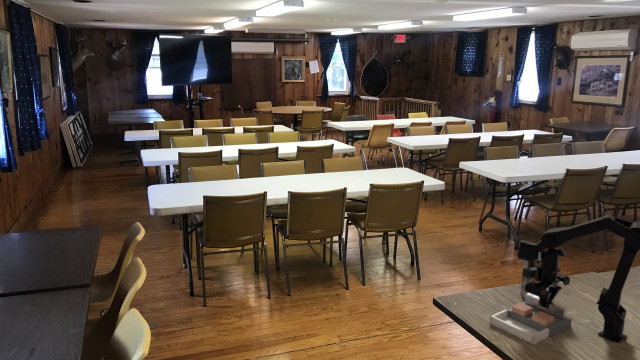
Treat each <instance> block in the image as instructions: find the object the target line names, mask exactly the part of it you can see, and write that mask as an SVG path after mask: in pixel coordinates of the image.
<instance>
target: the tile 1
mask: <svg viewBox="0 0 640 360" xmlns="http://www.w3.org/2000/svg"><path fill="white" fill-rule="evenodd" d="M511 307H512V312H515V313H517V314H519V315H521V316H524V317H525V316H527V315H529V314H532V313H533V307H530V306H528V305H526V304H523V302H519V303H516V304H514V305H512V306H511Z"/></svg>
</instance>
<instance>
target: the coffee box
mask: <svg viewBox="0 0 640 360" xmlns="http://www.w3.org/2000/svg"><path fill="white" fill-rule="evenodd" d="M540 263H541V255H540V259H539V260H537V259H536V262H531V261H526V260H523V263H522V264H523V265H522V270H523V269H524V268H536V267H538V266H540ZM521 275H522V274H521ZM532 281H534V282H537V283H540V281H536V280H535V278H528V279H526V277H523V275H522V276H521V284H520V293H521V296H522V297H523V298H524V299H525V295H526V294H527V293H529V292H527V291H525V290H524V287H525V284H527V283H529V282H532ZM531 294H532V293H531ZM533 295H534V294H533ZM536 296H537V295H536ZM538 297H539V296H538Z"/></svg>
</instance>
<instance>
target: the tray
mask: <svg viewBox="0 0 640 360" xmlns="http://www.w3.org/2000/svg"><path fill="white" fill-rule="evenodd" d="M507 311H508V310H506V309H503V310H502V311H501V310H500V311H499V312H497V313H495V314H492V315H489V325H491V326H494V327H496V328H497V329H499V330H502V331H504V332H506V333H508V334H509V335H512V336H514V337H516V338H517V339H520V340H522V341H523V342H525V343H528V344H530V345H532V346H534V345H536V344H538V343H540V342H542V341H544V340H546V339H549V338H550V337H549V329H548V328H546V329H544V330H542V331H540V332H539V331H537V330H535V329H533V328H531V327H528V326H526V325H524V324H522V323H520V322H518V321H515V320H513V319H511V318H509V317H507Z"/></svg>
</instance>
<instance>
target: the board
mask: <svg viewBox="0 0 640 360" xmlns="http://www.w3.org/2000/svg"><path fill="white" fill-rule="evenodd" d="M522 303H523V304H526V303H525V301H523V302H522ZM526 305H528V306H530V307H533V306H531V305H529V304H526ZM505 310H508V311H507V317H509V318H511V319H513V320H515V321H518V322H520V323H522V324H524V325H526V326H528V327H531V328H533V329H535V330H537V331H539V332H540V331H542V330H544V329H546V328H548V329H549V337H548V338H550V337H552V336H555V335H556V334H559V333H560V332H562V331H565V330H567V329H568V328H570V327H572V319H573V318H572V317H569V316H567V318H565V319H562V318H560V317H557V316H555V315H552V314H550V313H548V312H545V311H543V310H541V309H538V308H536V307H533V313H532V314H529V315H527V316H525V317H524V316H521V315H519V314H517V313H515V312H512V306H510V307H509V308H506V309H505ZM540 311H542V312H544V313H547V314H549V315H552V316H554V322H553V323H551V324H549V325H546V326H544V325H541V324H539V323H537V322H535V321H533V320H532V315H533V314H535V313H538V312H540Z"/></svg>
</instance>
